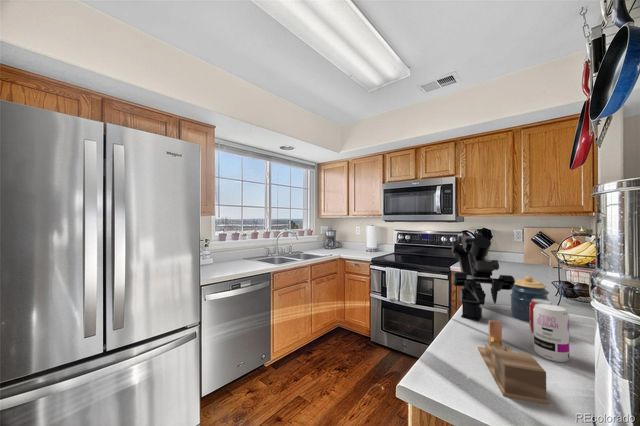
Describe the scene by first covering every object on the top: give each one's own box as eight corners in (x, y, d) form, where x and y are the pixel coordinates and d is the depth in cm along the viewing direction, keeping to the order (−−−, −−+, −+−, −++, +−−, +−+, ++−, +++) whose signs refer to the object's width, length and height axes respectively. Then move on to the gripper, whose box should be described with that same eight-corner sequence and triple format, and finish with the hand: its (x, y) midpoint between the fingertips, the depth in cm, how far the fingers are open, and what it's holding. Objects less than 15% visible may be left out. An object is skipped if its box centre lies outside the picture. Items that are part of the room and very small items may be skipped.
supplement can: (562, 352, 82) (561, 304, 82) (574, 365, 74) (573, 313, 74) (530, 346, 85) (529, 301, 85) (539, 359, 78) (538, 309, 78)
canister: (531, 311, 117) (530, 272, 117) (558, 323, 104) (557, 279, 104) (503, 311, 117) (502, 272, 117) (527, 323, 104) (526, 279, 104)
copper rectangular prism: (489, 348, 82) (488, 319, 82) (500, 350, 81) (500, 321, 81) (503, 372, 69) (503, 338, 70) (517, 374, 68) (517, 340, 69)
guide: (477, 349, 84) (477, 326, 84) (510, 353, 81) (510, 330, 81) (503, 395, 62) (502, 365, 62) (549, 404, 59) (548, 372, 59)
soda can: (560, 339, 91) (559, 304, 91) (537, 337, 92) (536, 303, 92) (546, 330, 97) (546, 298, 98) (525, 328, 99) (525, 297, 99)
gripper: (453, 250, 97) (460, 287, 86) (512, 252, 91) (527, 292, 80) (450, 267, 104) (456, 303, 94) (504, 270, 98) (517, 309, 88)
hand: (487, 302), depth 89 cm, fingers open, 4 cm apart
